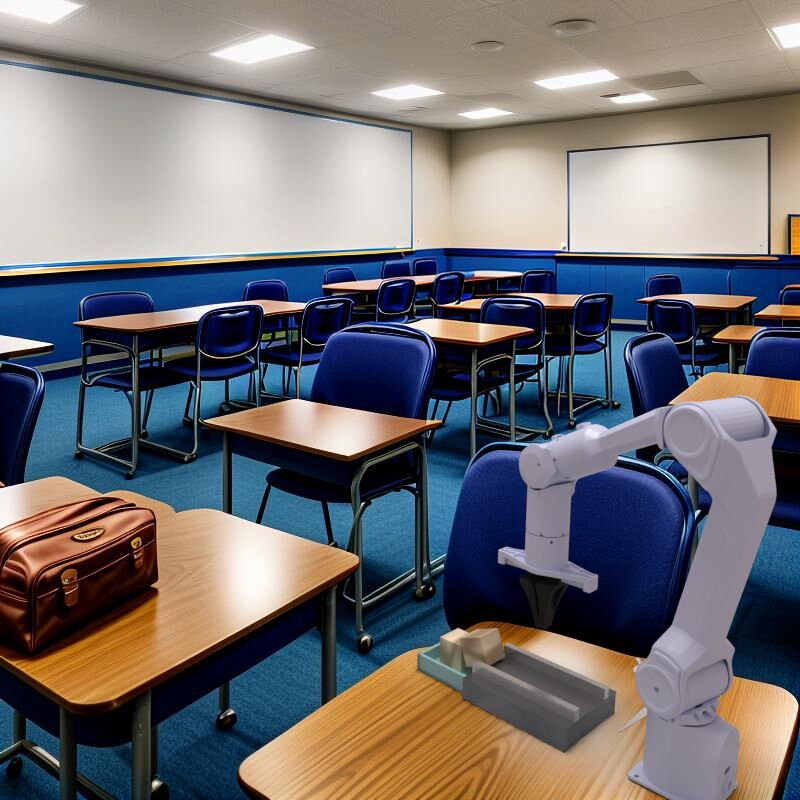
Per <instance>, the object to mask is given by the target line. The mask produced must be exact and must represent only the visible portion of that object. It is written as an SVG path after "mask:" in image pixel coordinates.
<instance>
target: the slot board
mask: <svg viewBox="0 0 800 800" xmlns="http://www.w3.org/2000/svg"><path fill="white" fill-rule="evenodd" d="M503 649H504V653H505V657H504V658H502V659H500V660H498V661H497V662H495V663H493V664H492V665H487V664H485V663H483V662H481V661H479V660H476V661H474V662H473V664H472V673H470V674H469V675H467V676H465V677H463V685H462V693H461V698H462V700H464V701H466V702H468V703H470V704H471V705H473V706H476V707H478V708H480V709H481V710H482V711H485V712H486V713H489V714H491V715H492V716H494V717H496V718H498V719H500V720H502V721H504V722H506V723H507V724H510V725H512V726H513V727H515V728H517V729H519V730H521V731H523V732H525V733H527V734H529V735H531V736H533V737H534V738H537V739H538V740H540V741H542V742H544V743H545V744H547V745H550V746H551V747H553V748H554V749H557V750H559V751H561V752H563V753H566V752H567V751H568V750H569V749H570V748H571V749H572V747H573V746H574V745H576V744H577V743H578V742H579V741H581V740H582V739H584V738H585V737H586V736H587V735H588V734H590V733H591V732H592V731H593V730H595V729H596V728H597V727H599V725H600V724H602V723H603V722H605V721H606V720H607V719H608V718H610V716H612V715H613V714H615V712H616V697H617V691H616V690H613V689H611V688H610V686H609V685H606V684H604V683H602V682H600V681H597V680H595V679H594V678H590V677H589V676H585V675H583V674H582V673H579V672H576V671H574V670H572V669H570V668H568V667H565V666H563V665H561V664H558V663H556V662H553V661H552V660H550V659H547V658H545V657H542V656H540V655H538V654H535V653H533V652H531V651H528V650H526V649H524V648H522V647H519V646H518V645H517V646H516V645H515V644H513V643H510V642H507V643H504V644H503Z"/></svg>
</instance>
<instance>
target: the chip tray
mask: <svg viewBox="0 0 800 800" xmlns="http://www.w3.org/2000/svg"><path fill="white" fill-rule="evenodd" d="M503 650H504V648H503ZM416 663H417V664H416V666H417V667H416V669H417V671H419V672H421V673H423V674H425V675H426V676H429V677H430V678H432V679H434V680H436V681H439V682H440V683H442V684H444V685H446V686H447V687H450V688H452V689H453V690H456V691H457V692H459V693H461V694H462V685H463V677H465V676H467V675H469V674H470V673H472V667H470V668H468V669H467V670H465V671H463V672H461V673H460V672H458V671H456V670H454V669H452V668H450V667H448V666H446V665H444V664H442V663H440V642H438V643H436V644H434V645H432V646H430V647H428V648H425V649H424V650H422V651H420V652H417V662H416Z"/></svg>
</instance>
